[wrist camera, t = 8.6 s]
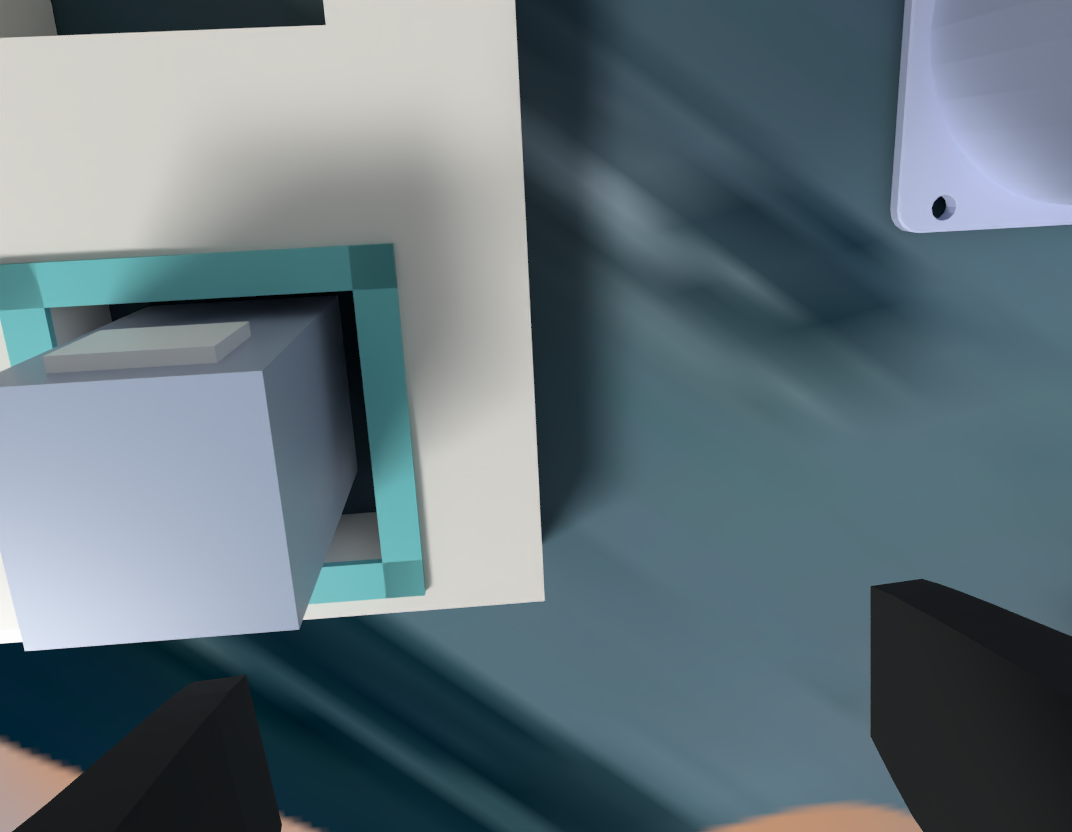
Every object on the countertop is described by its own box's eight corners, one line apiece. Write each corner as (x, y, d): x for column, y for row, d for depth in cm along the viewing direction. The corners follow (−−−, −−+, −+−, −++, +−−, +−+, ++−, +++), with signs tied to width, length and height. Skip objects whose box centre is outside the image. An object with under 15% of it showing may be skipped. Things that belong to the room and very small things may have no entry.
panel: (488, -374, 15) (491, -483, 13) (536, 549, 20) (545, 605, 18) (-217, -364, 15) (-366, -477, 12) (16, 588, 20) (-52, 652, 17)
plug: (336, 283, 18) (259, 352, 12) (357, 469, 20) (299, 629, 13) (145, 294, 18) (-44, 371, 11) (179, 482, 19) (25, 651, 13)
